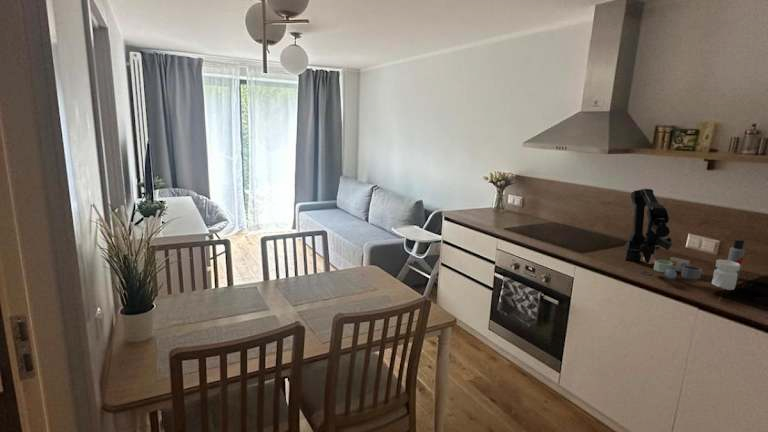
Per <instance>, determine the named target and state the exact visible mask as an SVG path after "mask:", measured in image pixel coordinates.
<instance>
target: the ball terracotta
mask: <svg viewBox="0 0 768 432" xmlns="http://www.w3.org/2000/svg"><path fill="white" fill-rule="evenodd" d="M655 260H656V258H655V256H654V255H652V256H651V258H650V261H649V263H646V261H645V258H644V256H643V257H642V261H643V262H644V263H646V264H647V265H649V264H654V262H655Z"/></svg>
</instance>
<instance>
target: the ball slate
mask: <svg viewBox="0 0 768 432" xmlns="http://www.w3.org/2000/svg"><path fill="white" fill-rule="evenodd" d="M663 274H664V277H666V278H669V279H674V278H675V279H676V277H677V271H676V270H673V269H667V270H666V271H665V272H664V273H663Z"/></svg>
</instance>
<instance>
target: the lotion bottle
mask: <svg viewBox="0 0 768 432" xmlns="http://www.w3.org/2000/svg"><path fill="white" fill-rule="evenodd" d="M733 240H734V241H733V246H732V247H730V248H729V253H728V256H727V260H729V261H733V262H737V263H739V264H740V268H739V270H738V271H736V273H737V274H738V276H737V280H739V279H740V274H741V270H742V267H743V261H744V257H745V254H746V253H745V252H746V250H745V249H744V247H745V240H744V239H739V238H738V239H733Z"/></svg>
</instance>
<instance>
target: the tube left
mask: <svg viewBox="0 0 768 432" xmlns="http://www.w3.org/2000/svg"><path fill="white" fill-rule="evenodd" d="M653 264H654V265H653V270H654V271H657V272H659V273H663V274H664V272H665V271H666V270H667V269H672V266H673V263H672V262H670V260H665V259H655V261H654V262H653Z"/></svg>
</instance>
